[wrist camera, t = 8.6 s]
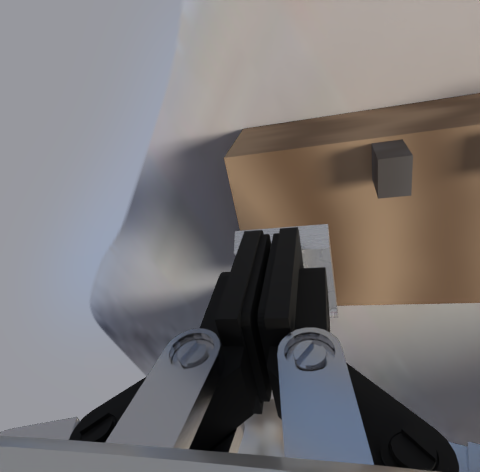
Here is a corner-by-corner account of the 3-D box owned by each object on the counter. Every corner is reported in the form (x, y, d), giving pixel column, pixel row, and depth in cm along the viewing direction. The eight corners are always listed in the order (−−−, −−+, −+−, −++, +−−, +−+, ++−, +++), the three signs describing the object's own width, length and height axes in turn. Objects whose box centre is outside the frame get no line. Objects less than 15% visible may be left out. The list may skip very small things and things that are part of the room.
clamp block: (689, 61, 16) (910, 90, 10) (623, 238, 20) (748, 331, 14) (243, 129, 21) (213, 174, 15) (267, 258, 25) (251, 332, 19)
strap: (336, 297, 20) (338, 319, 19) (281, 299, 21) (281, 320, 20) (327, 218, 11) (330, 254, 11) (235, 225, 12) (233, 259, 12)
